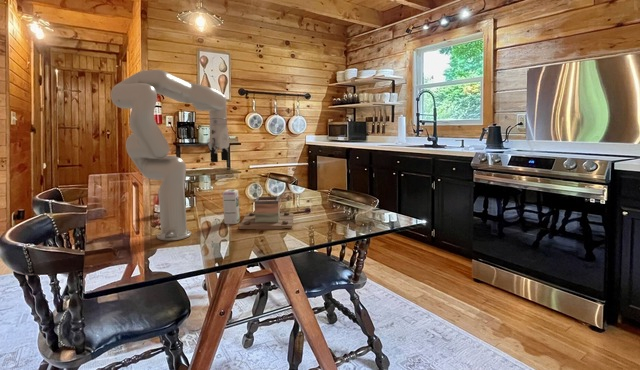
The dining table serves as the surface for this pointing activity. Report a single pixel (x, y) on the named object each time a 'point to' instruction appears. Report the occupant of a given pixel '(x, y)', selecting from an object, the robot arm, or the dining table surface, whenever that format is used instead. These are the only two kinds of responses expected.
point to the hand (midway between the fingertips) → (219, 161)
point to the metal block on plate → (267, 215)
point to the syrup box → (231, 206)
